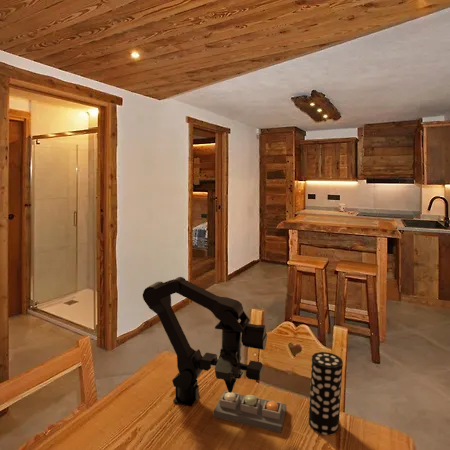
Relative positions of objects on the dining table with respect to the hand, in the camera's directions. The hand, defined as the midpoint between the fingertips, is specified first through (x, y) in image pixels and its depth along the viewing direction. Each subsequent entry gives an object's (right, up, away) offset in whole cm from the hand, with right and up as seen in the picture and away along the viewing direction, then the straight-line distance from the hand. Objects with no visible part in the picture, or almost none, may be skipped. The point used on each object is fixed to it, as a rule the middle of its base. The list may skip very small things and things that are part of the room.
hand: (230, 391), depth 105 cm
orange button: (+12, -4, -4) cm, 13 cm away
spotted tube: (+27, -7, -5) cm, 28 cm away
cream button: (0, -3, 0) cm, 3 cm away
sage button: (+6, -3, -2) cm, 7 cm away
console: (+6, -6, -1) cm, 9 cm away
